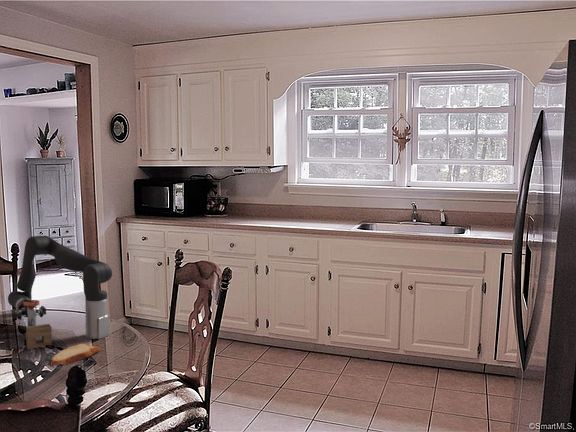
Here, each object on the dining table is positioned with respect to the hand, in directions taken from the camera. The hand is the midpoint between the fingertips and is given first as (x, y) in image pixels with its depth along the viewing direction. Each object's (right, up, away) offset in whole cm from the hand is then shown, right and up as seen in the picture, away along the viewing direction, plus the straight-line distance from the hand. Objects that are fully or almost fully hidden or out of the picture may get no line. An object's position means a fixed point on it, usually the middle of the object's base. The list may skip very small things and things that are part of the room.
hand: (31, 316), depth 233 cm
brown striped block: (+10, -10, -13) cm, 19 cm away
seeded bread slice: (+30, -12, -23) cm, 40 cm away
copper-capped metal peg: (+2, -8, -2) cm, 9 cm away
